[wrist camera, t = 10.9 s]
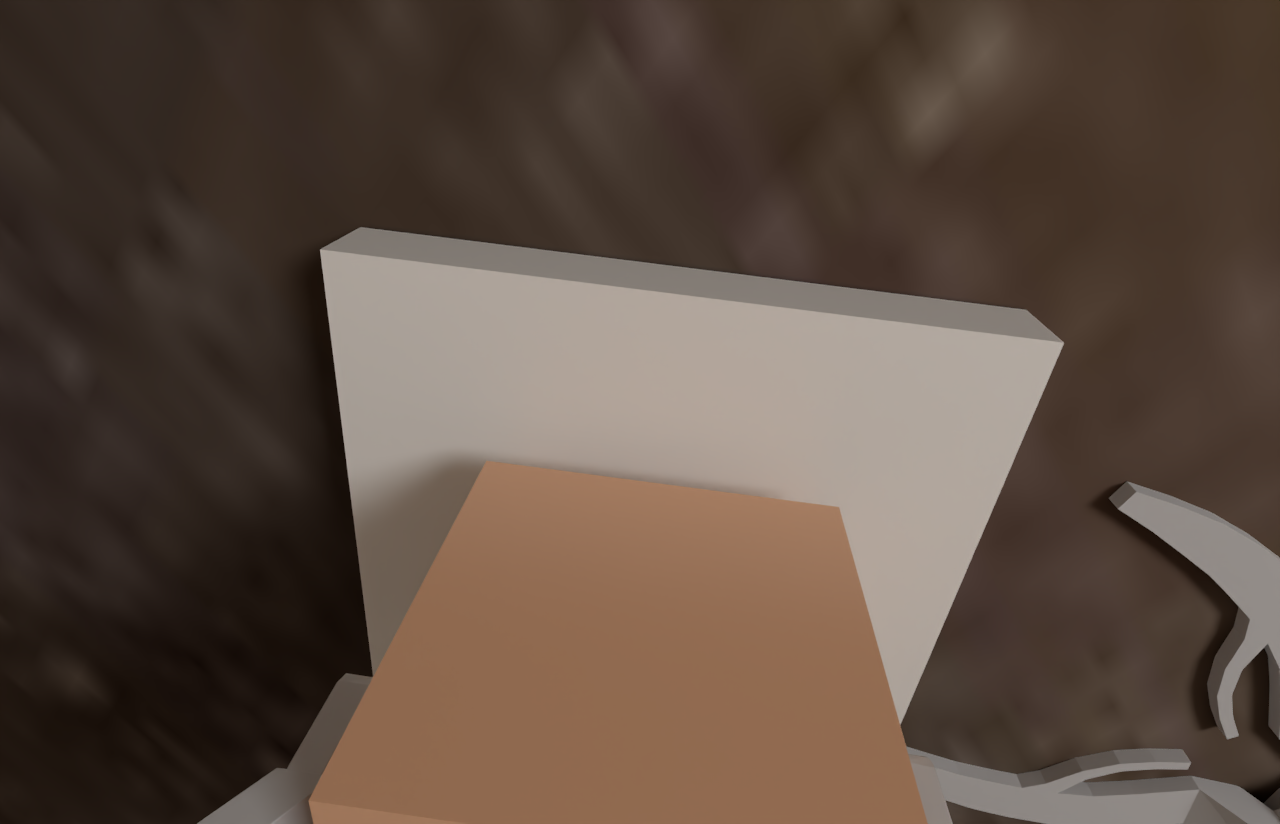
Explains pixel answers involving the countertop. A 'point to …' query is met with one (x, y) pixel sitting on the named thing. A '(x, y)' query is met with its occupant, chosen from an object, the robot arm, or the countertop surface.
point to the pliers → (1163, 807)
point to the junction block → (675, 405)
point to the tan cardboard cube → (628, 668)
